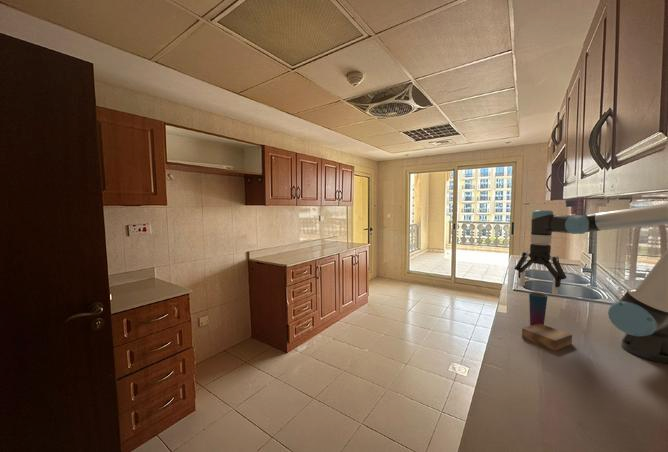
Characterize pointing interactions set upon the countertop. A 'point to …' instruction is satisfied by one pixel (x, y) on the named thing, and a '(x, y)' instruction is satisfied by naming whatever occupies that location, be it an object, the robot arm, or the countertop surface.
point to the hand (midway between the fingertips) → (537, 289)
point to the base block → (547, 336)
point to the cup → (537, 307)
